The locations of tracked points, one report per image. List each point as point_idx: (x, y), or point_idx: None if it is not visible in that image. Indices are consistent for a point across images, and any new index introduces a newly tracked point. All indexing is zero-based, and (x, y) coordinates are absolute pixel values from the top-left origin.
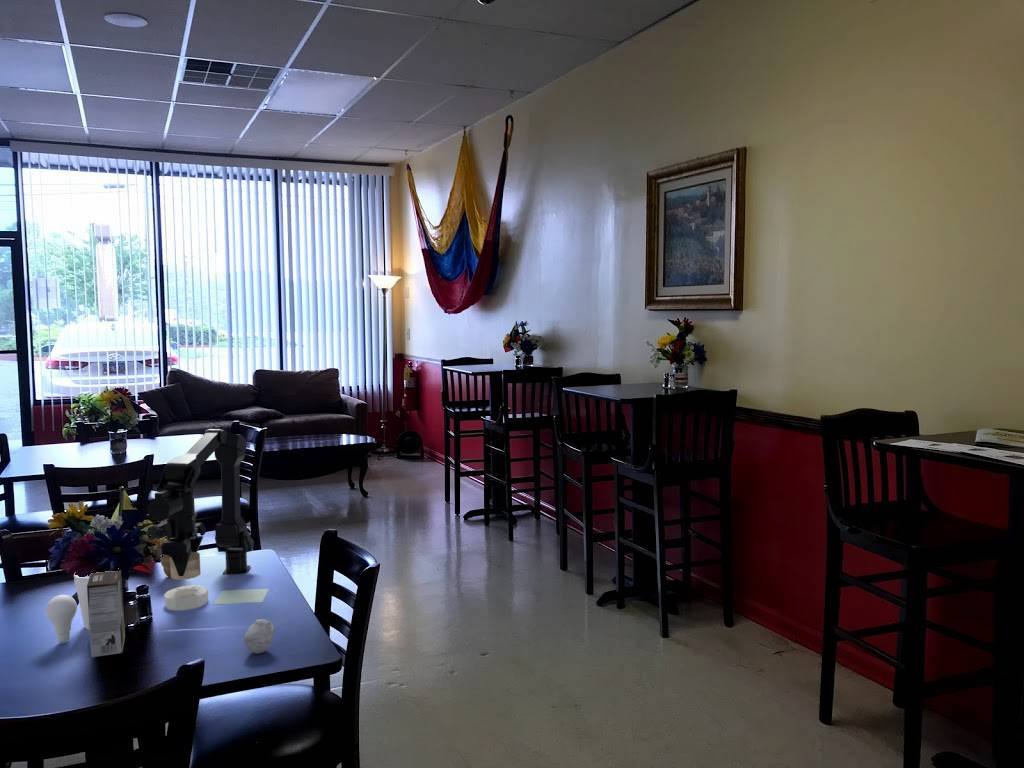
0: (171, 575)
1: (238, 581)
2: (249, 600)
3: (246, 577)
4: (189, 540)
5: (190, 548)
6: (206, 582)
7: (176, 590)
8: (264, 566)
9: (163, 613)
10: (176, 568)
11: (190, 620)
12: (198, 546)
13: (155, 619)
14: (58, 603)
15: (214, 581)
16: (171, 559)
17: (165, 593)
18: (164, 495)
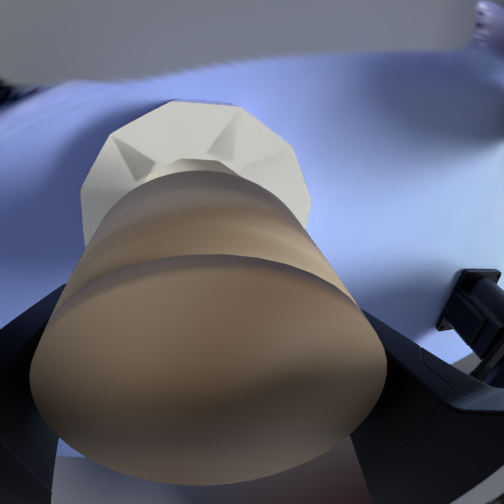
0: (128, 198)
1: (393, 324)
2: None
3: (413, 334)
4: (441, 499)
5: (390, 438)
6: (436, 230)
7: (242, 160)
8: (458, 346)
9: (92, 117)
10: (14, 323)
11: (17, 254)
12: (366, 483)
13: (29, 108)
14: None
15: (431, 255)
16: (53, 325)
17: (198, 104)
18: None
